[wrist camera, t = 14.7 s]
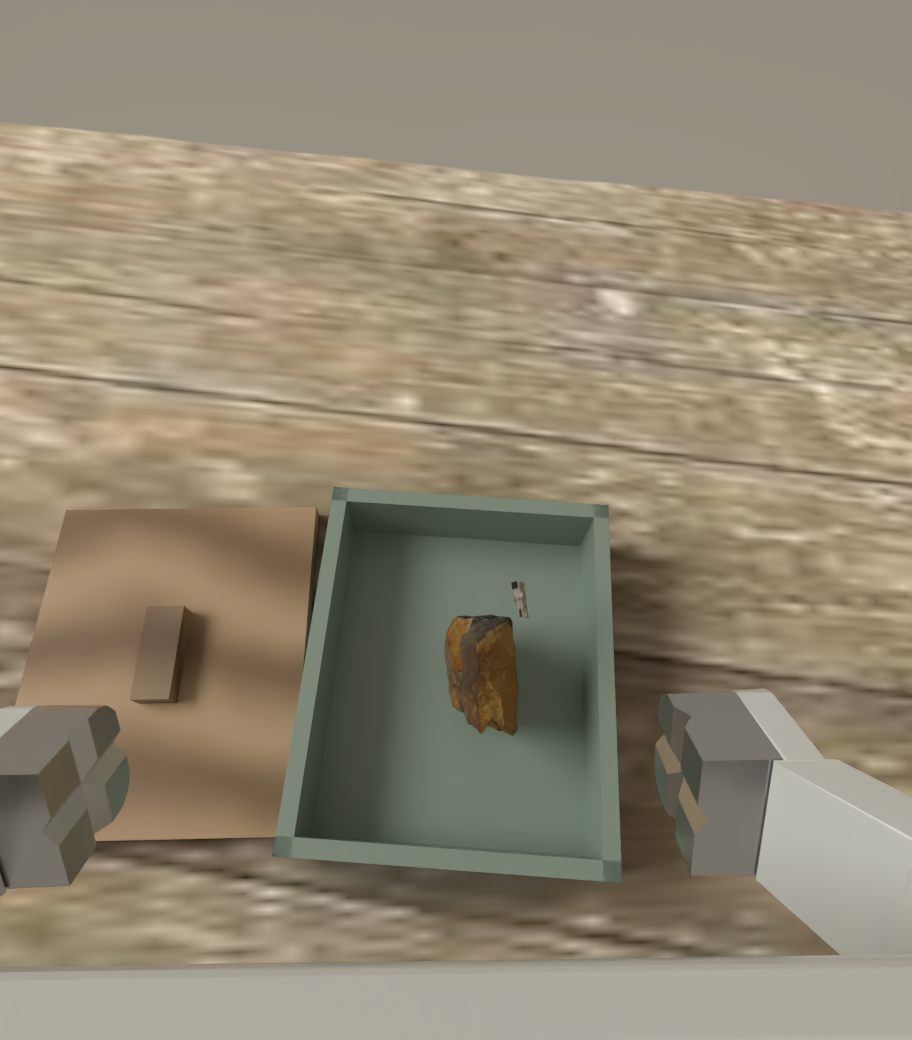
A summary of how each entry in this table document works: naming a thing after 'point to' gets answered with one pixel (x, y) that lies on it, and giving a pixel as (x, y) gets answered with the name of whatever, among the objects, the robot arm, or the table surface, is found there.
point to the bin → (425, 692)
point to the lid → (183, 656)
